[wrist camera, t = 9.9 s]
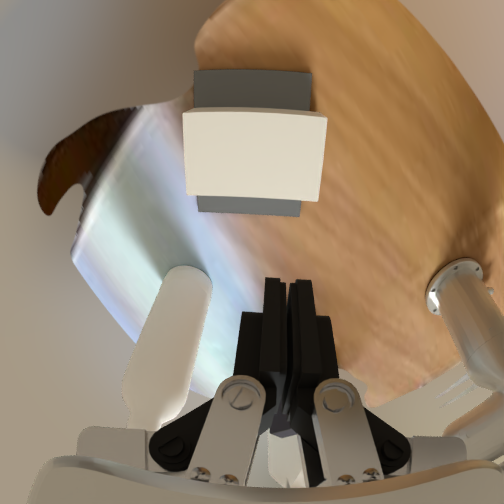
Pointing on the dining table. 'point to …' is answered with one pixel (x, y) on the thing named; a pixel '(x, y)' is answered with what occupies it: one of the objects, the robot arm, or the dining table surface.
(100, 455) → the robot arm
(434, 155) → the dining table surface
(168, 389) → the bottle
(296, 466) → the milk
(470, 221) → the dining table surface
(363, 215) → the dining table surface
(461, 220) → the dining table surface
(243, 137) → the flip block
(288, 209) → the mat
